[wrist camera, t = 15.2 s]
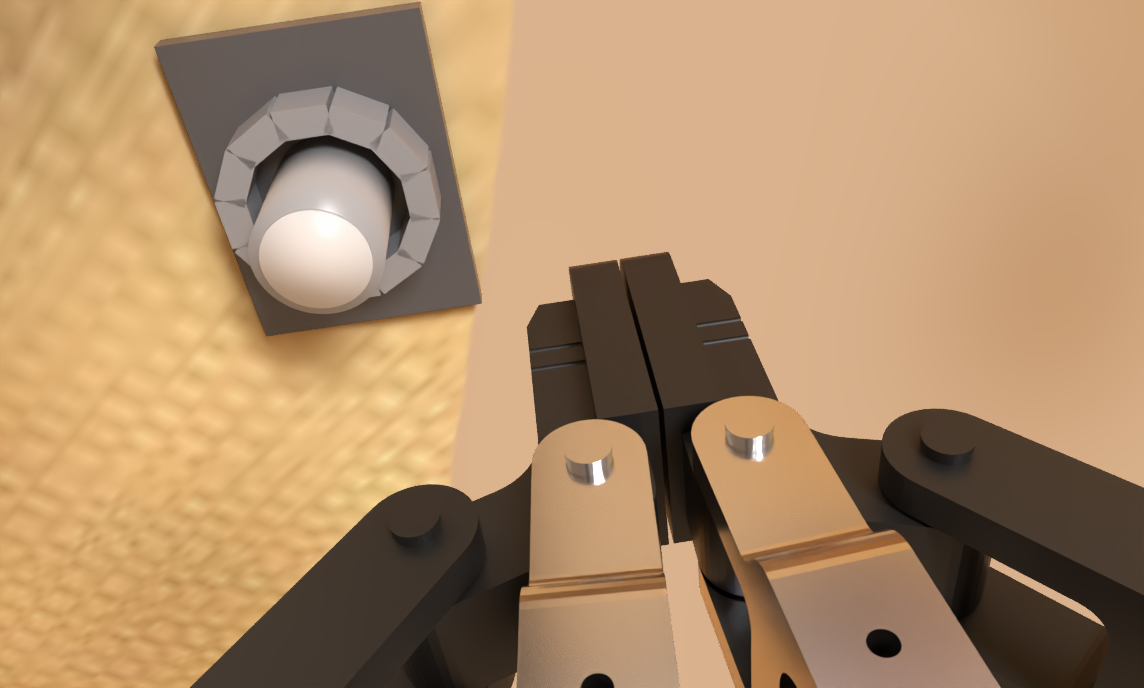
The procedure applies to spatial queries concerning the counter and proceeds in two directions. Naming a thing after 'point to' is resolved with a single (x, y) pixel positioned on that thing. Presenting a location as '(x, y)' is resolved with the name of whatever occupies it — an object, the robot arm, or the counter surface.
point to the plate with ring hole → (344, 110)
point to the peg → (324, 226)
